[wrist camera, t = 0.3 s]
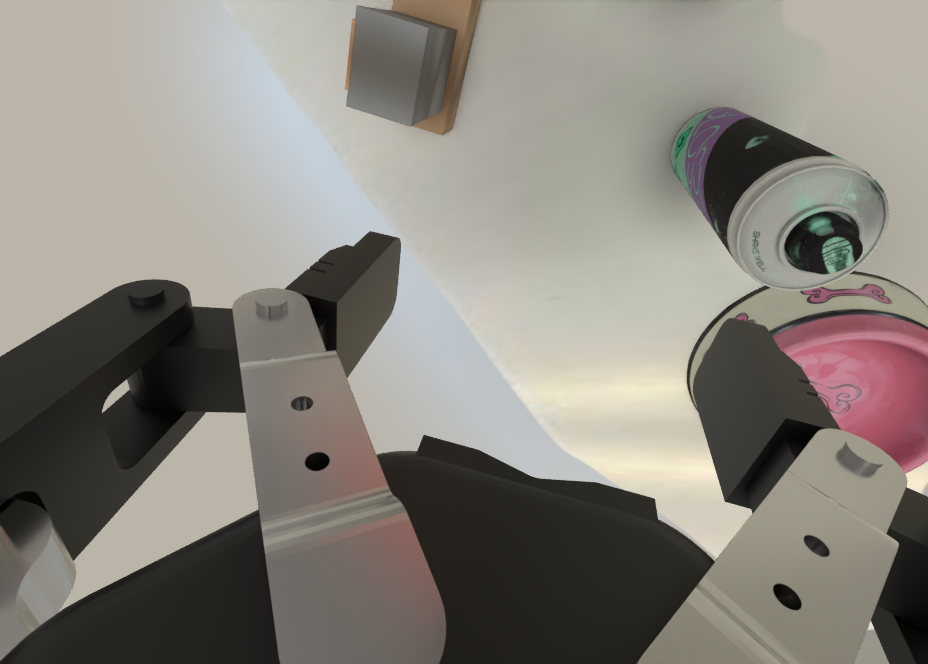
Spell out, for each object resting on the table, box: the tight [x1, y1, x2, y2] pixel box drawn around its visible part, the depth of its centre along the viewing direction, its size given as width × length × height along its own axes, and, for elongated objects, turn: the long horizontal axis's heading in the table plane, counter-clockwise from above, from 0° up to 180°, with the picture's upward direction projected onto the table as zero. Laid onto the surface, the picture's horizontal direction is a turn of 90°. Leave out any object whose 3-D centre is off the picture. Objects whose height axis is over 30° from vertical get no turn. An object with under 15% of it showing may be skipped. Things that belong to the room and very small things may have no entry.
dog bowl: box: [687, 271, 928, 473], centre depth 38 cm, size 18×18×7 cm
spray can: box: [671, 107, 889, 291], centre depth 26 cm, size 6×6×20 cm
